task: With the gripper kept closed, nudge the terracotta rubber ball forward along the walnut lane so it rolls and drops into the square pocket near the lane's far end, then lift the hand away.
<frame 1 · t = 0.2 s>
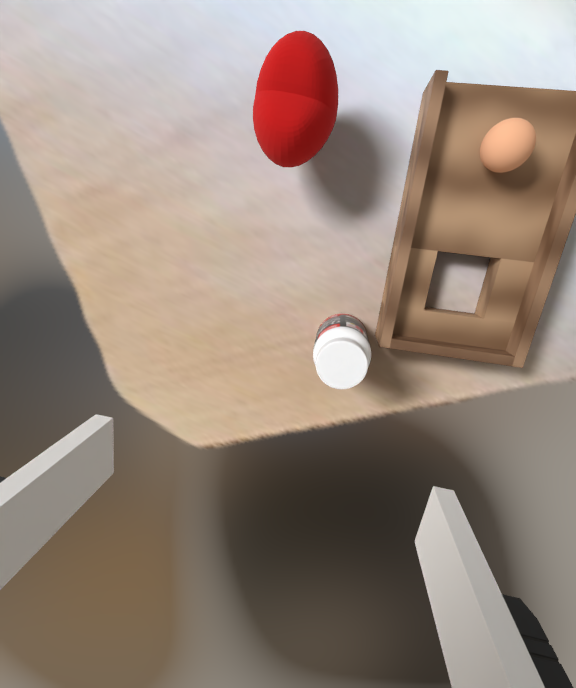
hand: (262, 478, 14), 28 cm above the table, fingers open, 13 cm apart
pill bottle: (341, 335, 40), on the table
lane: (465, 233, 35), on the table
red heart-shaped lump: (302, 131, 35), on the table
ball: (496, 152, 31), point 2 cm above the table, touching lane
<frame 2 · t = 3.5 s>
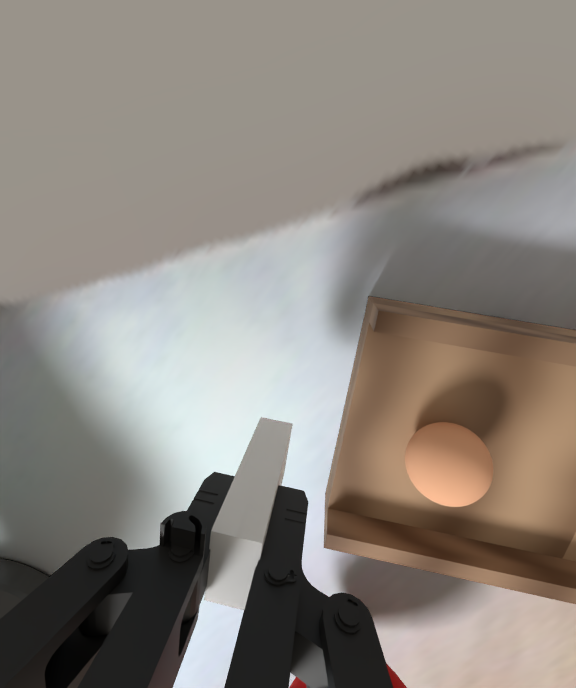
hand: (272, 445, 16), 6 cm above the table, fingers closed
lane: (539, 441, 21), on the table
ball: (435, 441, 19), point 2 cm above the table, touching lane
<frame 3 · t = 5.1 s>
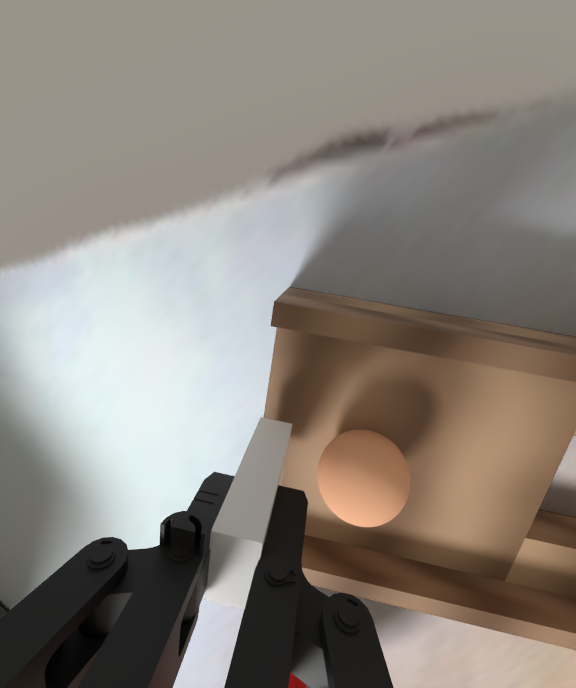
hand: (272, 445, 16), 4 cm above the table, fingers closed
lane: (483, 450, 19), on the table
ball: (359, 449, 17), point 2 cm above the table, touching lane
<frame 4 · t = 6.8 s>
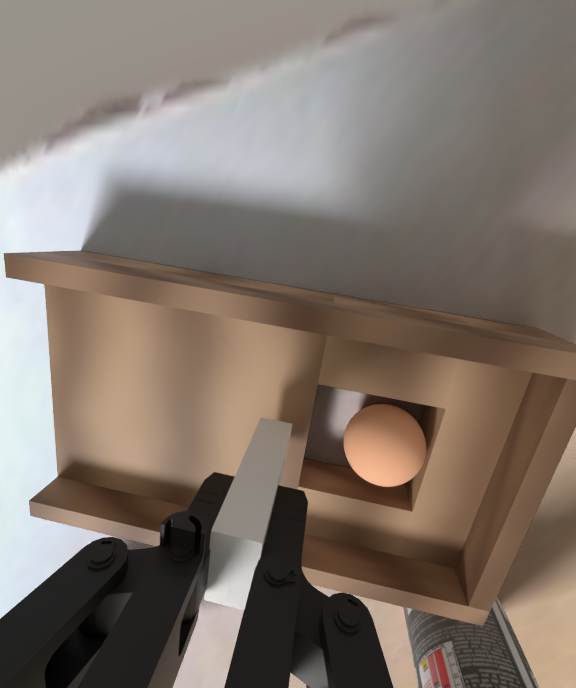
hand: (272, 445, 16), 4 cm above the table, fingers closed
pill bottle: (446, 591, 22), on the table
lane: (276, 407, 20), on the table
ball: (362, 422, 19), resting in lane, tilted 29°
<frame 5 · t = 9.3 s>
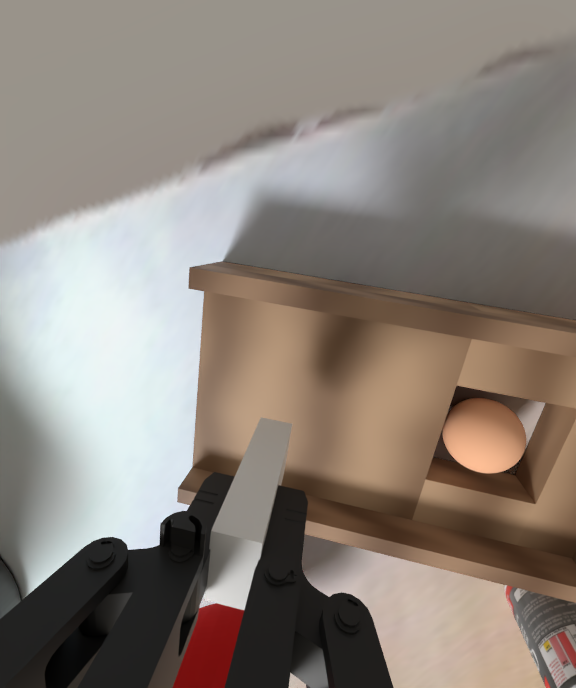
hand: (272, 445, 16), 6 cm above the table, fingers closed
pill bottle: (545, 581, 23), on the table
lane: (397, 406, 21), on the table
red heart-shaped lump: (244, 578, 28), on the table
ball: (479, 419, 21), resting in lane, tilted 15°
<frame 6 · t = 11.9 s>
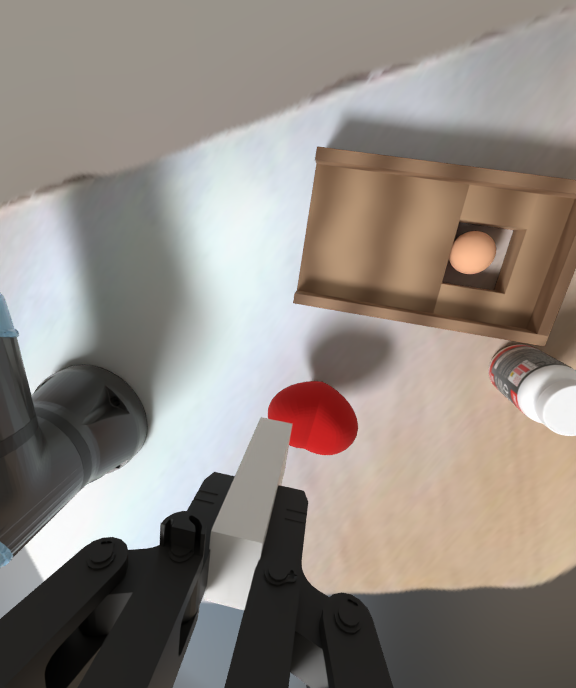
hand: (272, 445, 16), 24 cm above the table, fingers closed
pill bottle: (513, 367, 38), on the table
lane: (423, 248, 35), on the table
red heart-shaped lump: (316, 390, 42), on the table
ball: (472, 253, 35), resting in lane, tilted 21°
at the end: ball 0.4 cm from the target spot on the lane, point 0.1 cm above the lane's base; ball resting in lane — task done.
